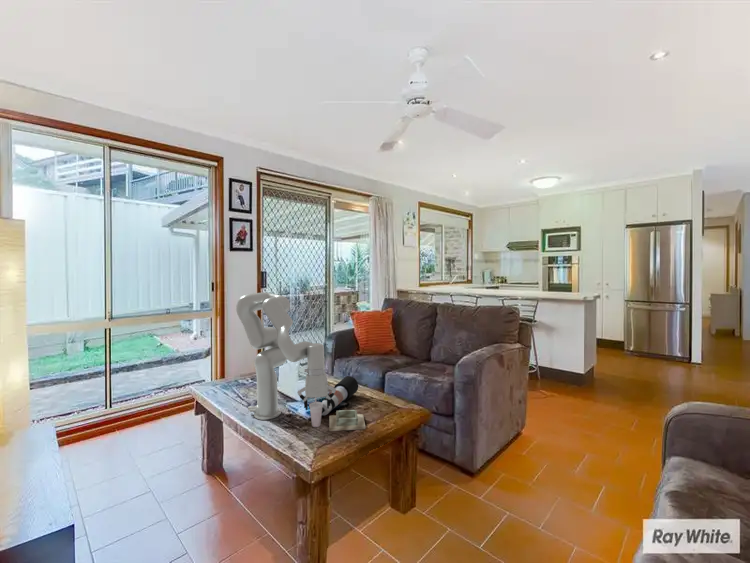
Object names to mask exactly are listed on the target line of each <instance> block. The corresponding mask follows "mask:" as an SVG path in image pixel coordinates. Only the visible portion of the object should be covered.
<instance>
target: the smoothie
mask: <svg viewBox="0 0 750 563" xmlns="http://www.w3.org/2000/svg"><path fill="white" fill-rule="evenodd" d="M322 407H323V403H321V401H317V398H314V401H312V402H310V403H308V408H309V412H310V419H311V426H312V427H314V428H317V427H320V426H321V423H322V416H323V415H322Z"/></svg>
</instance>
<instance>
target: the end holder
mask: <svg viewBox="0 0 750 563" xmlns="http://www.w3.org/2000/svg"><path fill="white" fill-rule="evenodd" d="M335 414H336V415H334V414H333V415H329V420H328V422H329V427H328V428H329V430H328V431H329V432H334V431H354V430H356V431H357V430H366V423H365V418H364V413H358V411H357V409H342V410H340V409H339V410H336V412H335Z"/></svg>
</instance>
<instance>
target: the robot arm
mask: <svg viewBox="0 0 750 563" xmlns="http://www.w3.org/2000/svg"><path fill="white" fill-rule="evenodd" d="M290 308H291V303H290V300H289V299H288V298H287V297H286V296H284V295H280V294H275V293H270V292H264V291H262V292H255V293H254V292H253V293H247V294H244V295H242V296H240V297H239V299H238V300H237V303H236V309H235V310H236V313H237V316H238V318H239V320H240V322H241V324H242V326H243V329H244V331H245V334H246V336H247V339H248V341H249V344H250V346H251V347H252V349H253V350H262V349H265V348H267V349H265V350H263V351H260V352H259V353H258V354H256V356H254V361H253V363H254V364H253V365H254V368H255V374H256V403H257V404H256V405H254V406H253V405H252V406H248V407H247V410H248V411H249V413H253V417H254V418H255V419H257V420H262V421H266V420H267V421H268V420H272V419H275V418H278V417H279V416H280V415H281V414H282V410H281V409H280V408H279V407H278V404H279V403H278V398H279V397H278V375H277V372H276V371H275V368H278V367H279V366H282V365H284V364H285V363H286V362H287V361H289V362H290V363H298V362H300V361H301V360H304V359H307V360H306V361H307V368H306V369H304V373H306V375H305V384H304V387H301V389H299V390H298V391H297V395H298V396H299V398H300V399H301V400H302V401H303V408H304V409H305V411H308V408H309V403H308V401H309V400H308V399H311V398H312V399H315V398H316V399H317V398H326V397H327V408H328V409H329V406H330V399H331V398H332V397H333V396H334V394H335V392H336V388H334V386H332V385H329V383H328V382H329V381H328V376H327V373H326V371H325V370H326V369H325V347H324V345H323V344H322V343H319V342H318V343H316V342H315V343H314V342H310V341H301V342H297V343H294V342H293V340H292V338H291V336H290V334H289V330H290V329H291V327H292V325H293V323H294V321H293V319H292V318H291V316H290V314H289V313H288V311H289V310H290ZM260 310H262V311H263V312H264V314H265V315H266V316H267V318H268V319H269V321H270V323H271V324H272V326H273V327H272V326H267V327H264V325H263V322H262V320H261V318H260V317H259V316H258V315H257V313H255V311H260ZM329 390H330V391H331V392H332V393H331V392H330V393H331V394H330V393H329ZM303 392H305V393H304V394H305V395H304V394H303ZM329 394H330V395H329Z"/></svg>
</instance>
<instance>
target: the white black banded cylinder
mask: <svg viewBox="0 0 750 563" xmlns="http://www.w3.org/2000/svg"><path fill="white" fill-rule="evenodd" d="M333 388H336V392H335V394H334V396H333V397H332V398H331V399H330V406H329V409H328V408H327V397H324V399H323V400H322V402H321V401H320V402H321V403H323V407H322V415H321V416H327V415H328V414H329V413H330V412H331V411H332V410H334V409H335V408H336V407H337V406H339V405H340V404H341V403H342V401H344V402H347V401H348V400H350V398H352V396H354V395H355V394H356V393H357V391H358V390H359V382H358V381H357V379H356V378H355V377H354V376H351V375H350V376H348V375H347V376H345V377H343V378H342V379H341V380H340V381H338V383H336V384H335V385H334V386H333ZM331 393H332V391H331V392H329V393H328V394H329V395H330V394H331ZM344 402H343V403H344Z"/></svg>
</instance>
